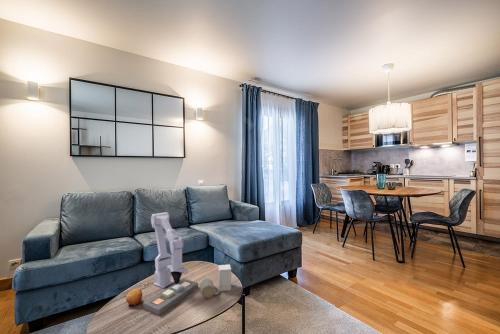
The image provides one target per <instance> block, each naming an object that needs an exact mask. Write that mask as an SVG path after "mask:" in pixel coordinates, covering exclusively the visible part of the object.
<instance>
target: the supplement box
mask: <svg viewBox="0 0 500 334" xmlns="http://www.w3.org/2000/svg"><path fill="white" fill-rule="evenodd" d="M217 280H218V283H217V284H218V289H219V292H228V291H231V290H232V267H231V264H230V263H229V264H228V263H227V264H219V265H218V279H217Z"/></svg>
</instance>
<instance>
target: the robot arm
mask: <svg viewBox="0 0 500 334" xmlns="http://www.w3.org/2000/svg"><path fill="white" fill-rule="evenodd" d="M150 222H151V228H152V229H154V232H155V237H156V239H155V240H156V245H157V251H158V255H157V256H156V257H155V259H154V267H155V271H154V283H153V285H155V286H158V287H160V288H163V289H166V287H168V286H171V285H172V284H176V285H177V284H178V283H179V281H180V280H181V277H182V274H183V275H186V274H188V273H189V272H188V269H187V268H185V267H184V266H183V248H184V246H185V242H184V239H183V238H182V237H181V236H179V235H178V232H176V229H175V228H172V225H171V223H170V214H169V212H167V211H164V212H160V213H158V212H157V213H152V214H151V216H150ZM164 231H165V232H166V233H164ZM165 236H166V237H165ZM166 238H167V240H168V242H169V249H170V253H169V252H168V251H167V250H168V249H167V244H166ZM171 277H172V279H173V280H172V279H171Z"/></svg>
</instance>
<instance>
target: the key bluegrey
mask: <svg viewBox="0 0 500 334" xmlns="http://www.w3.org/2000/svg"><path fill="white" fill-rule="evenodd" d="M182 289H183V286H182V285H179V284H177V285H175V286H173V287H171V290H172V291H174V292H176V293H178V292H179V291H181V290H182Z"/></svg>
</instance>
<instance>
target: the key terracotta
mask: <svg viewBox="0 0 500 334" xmlns="http://www.w3.org/2000/svg"><path fill="white" fill-rule="evenodd" d="M164 301H165V300H163V299H160V298H158V299H156V300H155V301H153V302H152V303H153V304H155V305H157V306H158V305H159V304H161V303H162V302H164Z"/></svg>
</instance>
